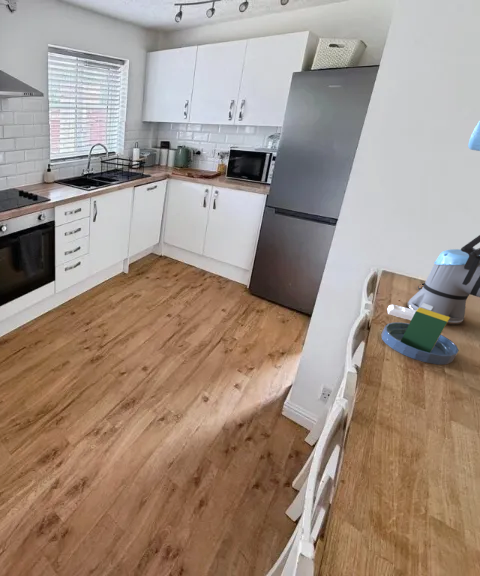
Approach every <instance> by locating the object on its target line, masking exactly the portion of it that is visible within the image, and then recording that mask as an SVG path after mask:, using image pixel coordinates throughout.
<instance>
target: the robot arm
mask: <svg viewBox="0 0 480 576" xmlns="http://www.w3.org/2000/svg"><path fill="white" fill-rule="evenodd" d="M467 147H468V149H469V150H470V151H476V152H480V120H478V122H477V124H476V125H475V127H474V129H473V131H472V133H471V135H470V137H469V140H468V146H467ZM479 243H480V234H479V235H478V236H476V237H475V238H473V239H471V241H469V242H468V243H466V244H465V245H464V246H462V247H461V248H460V249H458V248H457V249H456V248H455V249H454V248H453V249H451V248H450V249H445V250H443V251H441V252H440V253H439V255H438V257H437V258H436V260H434V262H433V263H434V264H433V266H432V268H431V270H430V272H429V274H428V276H427V277H426V280H425V281H424V282H423V283H421V284H422V285H424V286H422V287H421V288H422V289H421V288H419V285H418V286H417V288H418V291H417V292H416V293H414V295H413V296H412V297H411V298H409V300H408V301H407V302H406V308H409V309H413V310H418V308H419V307H420V308H423V309H426V310H430V311H433V312H436V313H439V314H442V315H445V316H448V317H450V319H449V320H448V322H447V324H446V325H448V326H449V325H450V326H457V325H461V324H462V323H463V321H464V319H465V315H466V303H467V299H468V298H469V296H470V295H471V296H474V297H477V298H480V247H479V248H475V246H477V245H478V244H479Z"/></svg>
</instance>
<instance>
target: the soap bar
mask: <svg viewBox="0 0 480 576" xmlns="http://www.w3.org/2000/svg"><path fill="white" fill-rule="evenodd" d="M386 310H387V315H390V316H394V317H397V318H401V319H404V320H409V321H411V320H412V318H413V316H414V314H415V312H416V311H417V310H413V309H409V308H407V307H405V306H400V305H397V304H390V305H388V307H387V309H386Z"/></svg>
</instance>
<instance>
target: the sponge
mask: <svg viewBox="0 0 480 576" xmlns="http://www.w3.org/2000/svg"><path fill="white" fill-rule="evenodd" d="M449 319H450V317H448V316H445V315H442V314H439V313H436V312H433V311H430V310H426V309H423V308H420V307H419V308H418V310H417V311H416V312H415V314H414V316H413V318H412V320H410V322H409V323H408V324H409V326H408V328H407V330H406V332H405V334H404V335H403V337H402V339H401V341H400V342H402V343H404V344H406V345H408V346H411V347H413V348H416V349H418V350H422V351H425V352H429V353H430V352H431V350H432V349H433V347H434V345H435V343H436V342H437V340H438V338H439V336H440V335H442V333H443V331H444V329H445V328H446V326H447V325H448V324H447V322H448V320H449Z"/></svg>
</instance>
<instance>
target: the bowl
mask: <svg viewBox="0 0 480 576" xmlns="http://www.w3.org/2000/svg"><path fill="white" fill-rule="evenodd" d="M409 324H410V323H408V322H401V321H397V322H396V321H395V322H393V321H392V322H389V323H387V324H385V326H384V328H383V330H382V332H381V340H382V341H383V342H384V343H385V345H387V346H388V347H390V348H391V349H392V350H394V351H395V352H397V353H400V354H401V355H404V356H405V357H408V358H410V359H412V360H416V361H420V362H422V363H426V364H431V365H432V364H433V365H448V364H451V363H453V361H454V360H455V358H456V357H457V355H458V353H459V348H458V346H457V344H455V343H454V342H453V341H452V340H451V339H449V338H448V337H446V336H444V335H443V334H441V335H440V336H439V338H438V340H437V342H436V343H435V345H434V347H433V349H432V350H431V352H430V353H429V352H425V351H422V350H418V349H416V348H413V347H411V346H408V345H406V344H404V343H402V342H400V341H401V339H402V337H403V335H404V334H405V332H406V330H407V328H408V326H409Z"/></svg>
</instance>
